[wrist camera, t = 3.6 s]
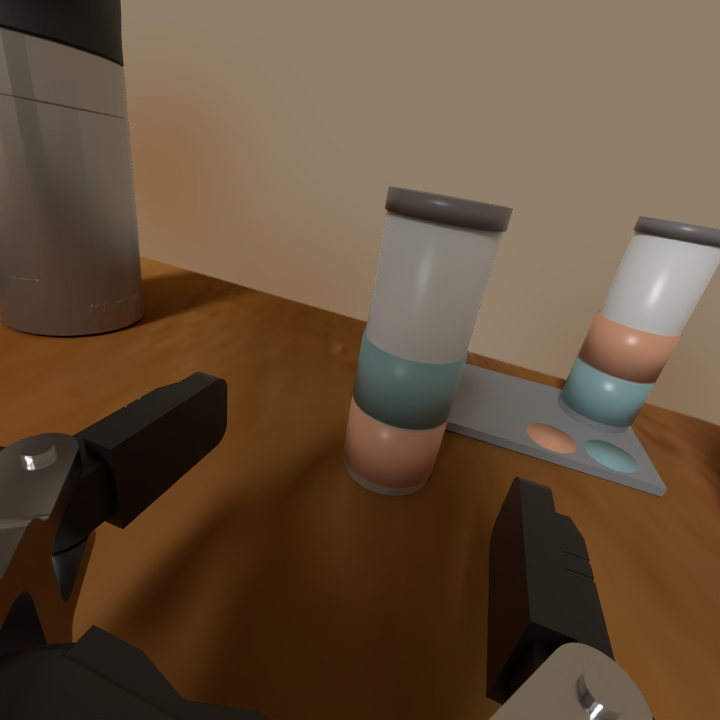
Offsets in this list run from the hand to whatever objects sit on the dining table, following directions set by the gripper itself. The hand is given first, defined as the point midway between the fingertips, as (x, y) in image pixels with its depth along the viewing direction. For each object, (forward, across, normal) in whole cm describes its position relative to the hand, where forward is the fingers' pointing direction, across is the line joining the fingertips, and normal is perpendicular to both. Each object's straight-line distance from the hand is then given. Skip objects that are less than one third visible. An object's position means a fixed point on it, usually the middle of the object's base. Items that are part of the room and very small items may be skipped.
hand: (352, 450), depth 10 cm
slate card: (+18, -8, +7) cm, 21 cm away
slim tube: (+8, 0, +7) cm, 11 cm away
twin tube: (+20, -12, +6) cm, 25 cm away
